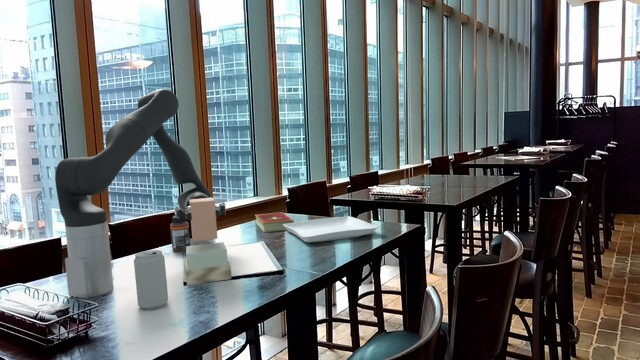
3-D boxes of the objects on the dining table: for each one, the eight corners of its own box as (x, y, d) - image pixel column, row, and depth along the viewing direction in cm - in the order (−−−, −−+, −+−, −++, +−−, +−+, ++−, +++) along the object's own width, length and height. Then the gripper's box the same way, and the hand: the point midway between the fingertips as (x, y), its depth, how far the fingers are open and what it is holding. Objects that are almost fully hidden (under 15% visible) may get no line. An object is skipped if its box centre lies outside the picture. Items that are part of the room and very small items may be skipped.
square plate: (349, 224, 189) (349, 214, 189) (379, 237, 163) (379, 226, 163) (282, 232, 181) (282, 222, 180) (303, 247, 155) (302, 235, 154)
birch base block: (187, 287, 120) (186, 271, 120) (185, 275, 131) (183, 261, 130) (231, 280, 124) (230, 265, 123) (225, 269, 134) (224, 255, 134)
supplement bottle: (175, 247, 163) (172, 214, 162) (193, 247, 162) (190, 214, 161) (169, 252, 157) (166, 218, 156) (187, 251, 156) (184, 217, 155)
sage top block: (187, 270, 121) (186, 254, 120) (187, 260, 130) (186, 246, 130) (227, 265, 124) (226, 250, 123) (224, 256, 133) (223, 242, 133)
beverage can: (159, 311, 103) (154, 256, 102) (132, 310, 104) (127, 256, 103) (173, 300, 109) (169, 249, 108) (148, 300, 110) (143, 249, 109)
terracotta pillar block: (193, 241, 123) (190, 202, 122) (192, 236, 128) (189, 199, 127) (217, 238, 125) (214, 200, 123) (214, 234, 130) (212, 197, 129)
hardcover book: (283, 221, 204) (283, 211, 204) (294, 230, 184) (293, 219, 184) (255, 224, 201) (254, 214, 201) (263, 233, 181) (262, 222, 180)
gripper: (171, 195, 137) (173, 203, 121) (222, 191, 141) (230, 198, 125) (173, 221, 137) (175, 232, 122) (224, 216, 142) (232, 226, 126)
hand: (203, 215), depth 123 cm, fingers closed on terracotta pillar block, 6 cm apart
